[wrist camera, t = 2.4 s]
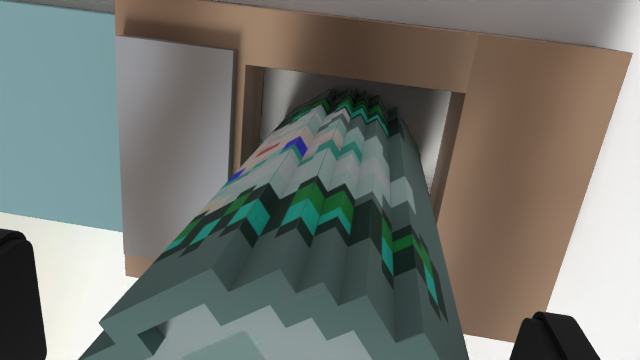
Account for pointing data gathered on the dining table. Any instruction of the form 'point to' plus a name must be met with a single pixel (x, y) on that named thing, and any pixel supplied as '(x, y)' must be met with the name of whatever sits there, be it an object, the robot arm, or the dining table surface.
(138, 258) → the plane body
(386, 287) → the can
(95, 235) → the dining table surface
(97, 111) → the rubber mat
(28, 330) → the robot arm
